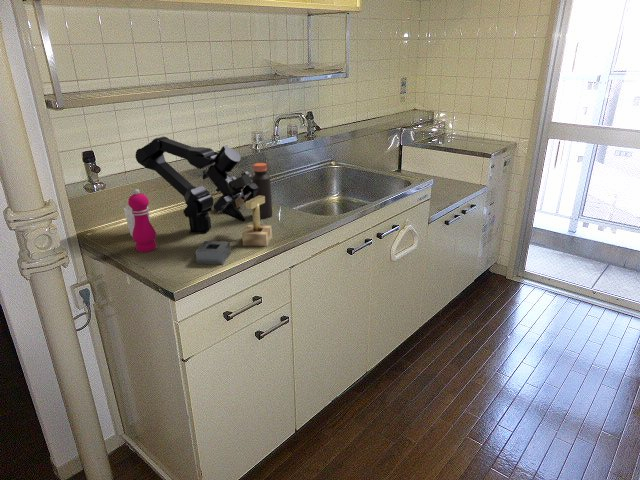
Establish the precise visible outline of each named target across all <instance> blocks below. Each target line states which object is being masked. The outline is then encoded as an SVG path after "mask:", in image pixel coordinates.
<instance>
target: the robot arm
mask: <svg viewBox="0 0 640 480" xmlns="http://www.w3.org/2000/svg"><path fill="white" fill-rule="evenodd" d="M165 153H168V154H170V155H173V156H176V157H178V158H181V159H184V160H186V161H187V162H188V164H189V165H191V166H193V167H194V168H197V169H199V170H201V169H203V170H202V180H206V179H209V180H210V181H211V182H212V184H214V186H215V187H216V189H215V191H216V193H221V194H222V195H224V196H220V197H219V198H218V199H217V200H216V201H215V203H214V197H213V195H212V194H211V191H209V190H207V188H205V187H204V186H203V185H200V186H197V187H196V186H194V185H193V184H192V183H191V182H189V181H188V180H187V179H186V178H185V177H184V176H183V175H182V174H180V173H179V172H178V171H177V170H176V169H175V168H173V167H172V165H170V164H169V163H168V162H167V161H166V158H165ZM135 159H136V162H137V163H138V164H139V165H141V166H142V167H144V168H145V169H147V170H152V171H155V172H156V173H157V174H158V175H159V176H160V177H161V178H162V179H164V180H165V181H166V182H167V183H168V184H169V185H170V186H171V187H173V188H174V189H175V190H176V191H177V192H178V193H179V194H180V195H181V196H182V197H183V198H184V202H185V204H186V207H185V208H184V209H183V214H184V216H185V217H186V218H188V222H189V229H190V230H188V233H189V234H207V233H208V232H209V231H210V230H211V229H212V221H211V217H210V215H209V212H211V211H212V208H213V210H214V211H215V212H216V213H217V214H218V213H220V214H222V215H223V214H224V215H226V216H229V217H232V218H233V219H235V220H238V221H240V222H242V223H245V222H246V220H247V219H246V218H245V216H244V215H243V213H242V211H241V210H239V207H238V208H237V207H236V202H235V200H237V199H239V198H241V199H243V200H245V201H244V203H245V202H246V201H248V200H250V199H252V198H255V197H256V192H257V189H258V186H257V185H256V184H255V183H252V177H253V175H252V174H251V173H250V172H249V171H248V170H247V171H245V172H242V173H241V176H240V177H236V176H234V175H232V176H231V175H230V174H229V173H230V172H232V170H233V169H234V168H235V167H236V166H237V165H238V164H239V162H240V161H241V160H242V159H241V154H240V153H239V152H238V151H237V150H236V149H234V148H233V147H229V146H228V145H223V146H222V147H221V149H220V151H218V152H217V151H215V150H213V149H212V148H210V147H202V146H201V147H200V146H199V147H195V146H190V145H187V144H185V143H182V142H179V141H176V140H174V139H170V138H169V137H167V136H160V137H157V138H154V139H152V141H150V142H149V143H148V144H146V145H144V146H142V147H140V148H137V150H136V151H135ZM207 167H208V168H207ZM204 168H207V169H205V170H204ZM242 189H243V190H242ZM241 190H242V191H241ZM238 195H239V196H238ZM259 208H260V206H259ZM260 213H261V209H260Z"/></svg>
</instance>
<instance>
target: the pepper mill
mask: <svg viewBox="0 0 640 480" xmlns="http://www.w3.org/2000/svg"><path fill="white" fill-rule="evenodd" d="M149 203H150V201H149V198H148V196H146V195H145V194H143V193H141V191H140V189H137V188H136V189H134V190H133V194H131V195H130V196H129V198H128V202H127V205H128V206H130V207H131V208H132V210H131V211H132V214H133V215H134V218H135V225H134V229H133V234H132V236H133V237H132V236H131V237H132V240H133V241H134V242H135V243H136V244H135V249H136V251H137V252H140V253H146V252H151V251H154V250H155V249H157V242H156V241H155V240H156V238H157V232H156V230H155V227H154V226H153V224H152V223H151V220H150V221H149V219H148V212H149V213H150V211H148V209H149ZM147 206H148V208H147Z"/></svg>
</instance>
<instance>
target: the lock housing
mask: <svg viewBox="0 0 640 480" xmlns="http://www.w3.org/2000/svg"><path fill="white" fill-rule="evenodd" d="M231 253H232V252H231V244H230V241H217V240H216V241H210V240H205V241H204V242H202V244H201V245H199V247H198V248H197V249H196V250H195V256H196V257H195V258H196V264H199V265H200V264H201V265H204V264H205V265H224V263H225V262H226V261H227V259H228V258H229V257H230V255H231Z"/></svg>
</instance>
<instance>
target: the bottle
mask: <svg viewBox="0 0 640 480" xmlns="http://www.w3.org/2000/svg"><path fill="white" fill-rule="evenodd" d="M253 172H254V175H252V180H251V181H252V183H255V184H256V185H257V186H258V189H257V192H256V197H257V196H259V195H261V196H265V203H263V204H261V205H259V206H260V209H261V213H260V219H267V218H270V217H272V216H273V201H272V185H271V184H272V183H271V177H270V176H269V174H267V172H268V164H267V163H265V162H259V163H254V164H253Z"/></svg>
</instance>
